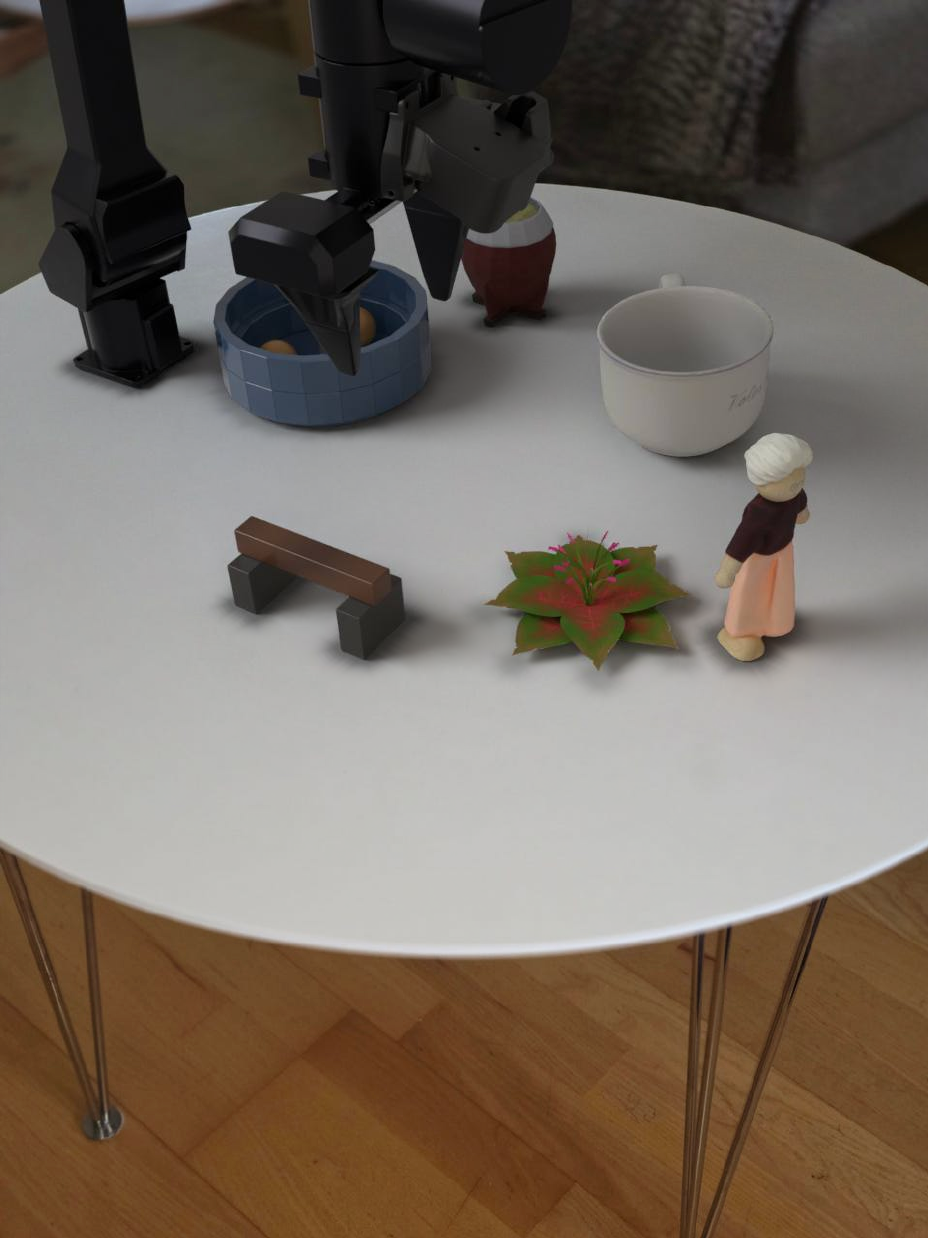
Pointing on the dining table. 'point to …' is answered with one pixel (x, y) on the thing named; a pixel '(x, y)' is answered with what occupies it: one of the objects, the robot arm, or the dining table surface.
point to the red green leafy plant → (588, 598)
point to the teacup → (684, 366)
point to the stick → (313, 560)
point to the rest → (355, 618)
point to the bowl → (322, 353)
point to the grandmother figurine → (765, 547)
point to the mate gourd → (512, 264)
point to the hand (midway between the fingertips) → (396, 334)
